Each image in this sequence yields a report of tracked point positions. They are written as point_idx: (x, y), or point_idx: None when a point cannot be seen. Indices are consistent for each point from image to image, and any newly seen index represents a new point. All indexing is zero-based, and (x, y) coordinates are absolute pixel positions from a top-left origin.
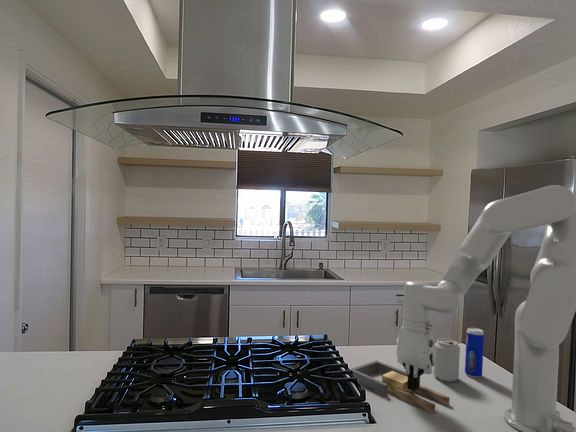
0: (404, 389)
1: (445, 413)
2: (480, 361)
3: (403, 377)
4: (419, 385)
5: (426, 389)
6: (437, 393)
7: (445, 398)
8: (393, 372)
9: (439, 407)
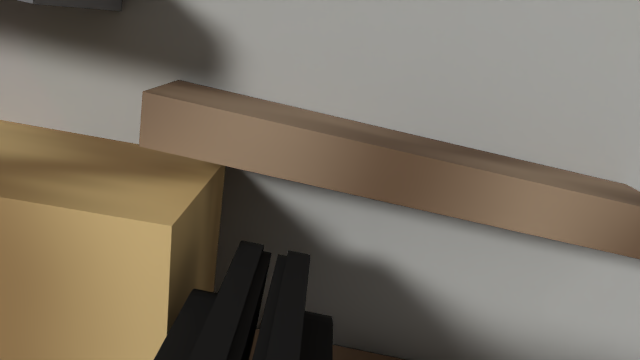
0: None
1: (599, 353)
2: None
3: (56, 275)
4: (331, 326)
5: (390, 198)
6: (535, 216)
7: (632, 255)
8: None
9: (540, 293)
